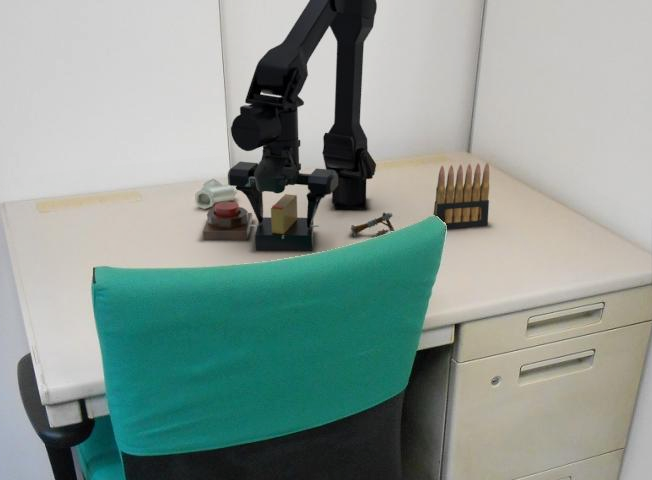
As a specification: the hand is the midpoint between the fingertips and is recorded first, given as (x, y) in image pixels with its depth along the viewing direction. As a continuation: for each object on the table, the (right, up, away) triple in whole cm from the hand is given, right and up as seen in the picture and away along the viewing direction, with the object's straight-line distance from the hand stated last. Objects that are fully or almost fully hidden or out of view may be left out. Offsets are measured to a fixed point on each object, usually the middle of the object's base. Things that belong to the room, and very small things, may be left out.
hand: (284, 224), depth 151 cm
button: (-11, +3, +5) cm, 12 cm away
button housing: (-11, 0, +6) cm, 13 cm away
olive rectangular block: (0, 0, 0) cm, 0 cm away
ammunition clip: (+33, +2, +10) cm, 34 cm away
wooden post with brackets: (+16, -1, +5) cm, 17 cm away
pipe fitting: (-15, +8, +19) cm, 26 cm away
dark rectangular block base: (0, -3, +2) cm, 3 cm away
